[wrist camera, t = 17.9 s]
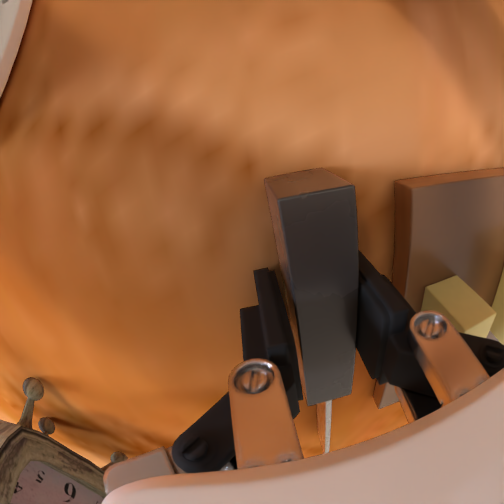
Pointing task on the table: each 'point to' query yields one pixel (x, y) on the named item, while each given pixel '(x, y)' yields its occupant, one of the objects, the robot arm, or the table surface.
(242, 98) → the table surface
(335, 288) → the knife
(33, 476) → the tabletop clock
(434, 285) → the butter slice
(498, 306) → the butter
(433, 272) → the cutting board
